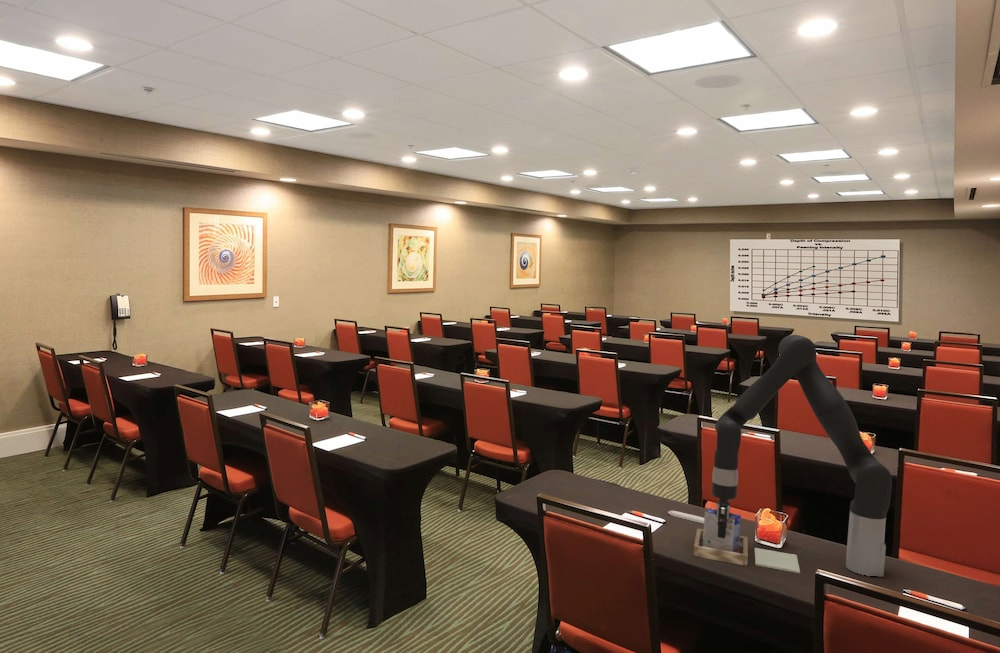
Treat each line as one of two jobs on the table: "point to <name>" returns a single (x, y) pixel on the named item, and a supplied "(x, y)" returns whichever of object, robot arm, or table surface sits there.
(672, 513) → the marker
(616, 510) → the table surface
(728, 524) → the ink cartridge box
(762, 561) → the sage pad
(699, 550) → the maple sleeve
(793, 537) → the table surface
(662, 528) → the table surface
